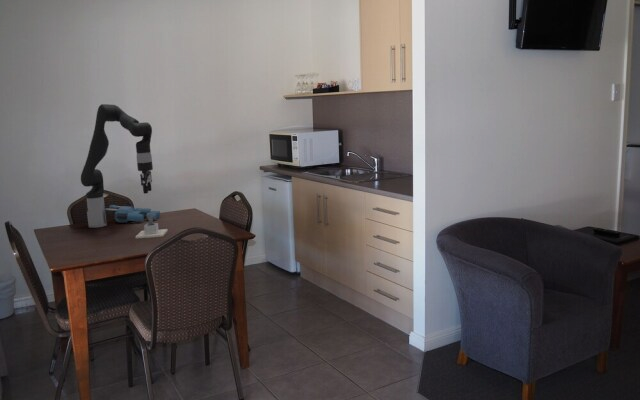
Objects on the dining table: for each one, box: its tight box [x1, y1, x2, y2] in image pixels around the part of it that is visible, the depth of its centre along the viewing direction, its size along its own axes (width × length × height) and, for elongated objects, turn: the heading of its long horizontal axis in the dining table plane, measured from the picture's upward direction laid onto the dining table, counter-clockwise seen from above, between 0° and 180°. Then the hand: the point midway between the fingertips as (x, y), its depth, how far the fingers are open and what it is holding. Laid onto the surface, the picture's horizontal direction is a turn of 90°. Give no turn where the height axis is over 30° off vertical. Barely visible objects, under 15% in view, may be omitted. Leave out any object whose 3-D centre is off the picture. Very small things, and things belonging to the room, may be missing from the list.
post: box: [135, 214, 169, 239], centre depth 300 cm, size 14×14×11 cm
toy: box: [105, 204, 161, 224], centre depth 343 cm, size 22×9×30 cm
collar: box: [143, 222, 160, 234], centre depth 300 cm, size 6×6×4 cm
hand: (147, 192), depth 297 cm, fingers open, 8 cm apart
